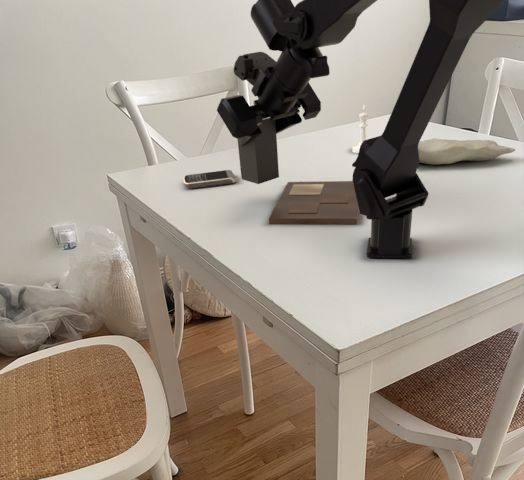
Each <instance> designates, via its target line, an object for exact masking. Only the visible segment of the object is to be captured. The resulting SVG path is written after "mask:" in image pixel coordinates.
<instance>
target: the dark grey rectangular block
mask: <svg viewBox="0 0 524 480" xmlns="http://www.w3.org/2000/svg"><path fill="white" fill-rule="evenodd" d="M259 128H260V129H261V131H262V133H261V134H260V135H259V136H257V137H256V138H254V139H253V140H251V141H250V142H248V143H247V144H245V145H244V146H241V145H240V143H239V138H238V139H237V147H238V149H237V150H238V155H239V156H238V159H239V167H240V178H241V180H243V181H246V182H250V183H252V184H256V185H261V184H263V183H266V182H269V181H273V180H276V179H278V178H280V172H279V154H278V139H277V138H278V137H277V134H276V121H275V120H272V119H271V118H268V119H264V120H262V123H261V124H260V125H259Z"/></svg>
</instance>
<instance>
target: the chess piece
mask: <svg viewBox="0 0 524 480" xmlns="http://www.w3.org/2000/svg"><path fill="white" fill-rule="evenodd" d="M361 111H362V112H361V113H359V115H358V117H359V120H360V123H359V124H358V127H359V128H360V134H359V140H358V143H357V144H356V145H354V146H352V147H351V152H353V153H354V154H359V149H360V146H361V144H362V143H363V141H364V140H367V133H366V127H369V124H368V123H367V119H368V116H369V113H367V112H366V104H362V108H361Z"/></svg>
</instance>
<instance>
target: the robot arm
mask: <svg viewBox="0 0 524 480" xmlns="http://www.w3.org/2000/svg"><path fill="white" fill-rule="evenodd" d="M377 1H378V0H301V1H299V2H298V3H296V5H294V3H293V2H292V0H257V1H256V2H255V3H254V4H253V5H252V6H251V8H250V18H251V20H252V22H253V24H254V25H255V27H256V29H257V30H258V32H259V34H260V35H261V37H262V39H263V41H264V42H265V44H266V46H267V48H268V50H269V51H273V52H274V51H275V52H276V51H278V52H281V53H280V55H279V56H278V59H277V60H275V59H274V58H272V57H271V56H270V55H269V54H267V53H266V52H264V51H256V52H250V53H244V54H242V55H239V56H238V57H237V59H236V60H235V62H234V66H233V73H234V75H235V76H236V77H237V78H238V79H239V80H241V81H247V82H248V83H249V84H250V85H251V86H252V87H251V93H252V94H253V96H254V97H257V99H254V100H253V105H250V104H249V103H248V102H247V100H246V98H245V96H244V95H241V94H236V95H232V96H227V97H223V98H221V99H220V101H219V103H218V105H217V108H216V112H217V113H218V116H219V117H220V118H221V120H222V122H223V123H224V125H225V127H226V129H227V130H228V131H229V132H230V135H231V136H232V137H233V138H235V139H237V140H238V138H239V143H240V145H241V146H244V145H245V144H247V143H248V142H250V141H251V140H253V139H254V138H256V137H257V136H259V135H260V134H261V133H262V131H261V129H260V128H259V125H260V124H261V123H262V120H264V119H268V118H271V119H272V120H275V121H276V135H277V134H280V133H281V132H283V131H285V130H288V129H290V128H292V127H295V126H296V125H298V124H301V123H302V122H303V119H304V120H305V121H307V120H310V119H315V118H317V116H318V115H319V113H320V112H321V110H322V101H321V100H320V98H319V97H318V95H317V93H316V92H315V90H314V89H313V87H312V85H311V84H310V81H311V79H316V78H317V79H318V78H323V77H328V76H330V66H329V62H328V56H327V55H323V53H322V51H321V49H320V48H323V47H328V46H329V47H330V46H334V45H338V44H341V43H342V42H343V41H344V40H345V39H346V38H347V37H348V35H349V34H351V32H352V31H353V30H354V29H355V27H356V25H357V21H358V18H359V17H360V16H361V15H362V13H363V12H364V11H366V10H367V9H368V8H370V7H371V6H372V5H373V4H375V3H376V2H377ZM503 2H504V0H428V5H429V6H428V9H429V21H428V25H427V28H426V30H425V32H424V35H423V37H422V40H421V42H420V44H419V47H418V49H417V52H416V55H415V57H414V59H413V61H412V64H411V66H410V68H409V71H408V73H407V76H406V77H405V80H404V83H403V85H402V87H401V90H400V92H399V94H398V97H397V99H396V102H395V104H394V106H393V108H392V111H391V113H390V116H389V118H388V120H387V123H386V125H385V128H384V130H383V132H382V134H381V135H378V136H375V137H372V138H368V139H366V140H364V141H363V143H362V144H361V146H360V149H359V153H357V157H356V159H355V161H354V162H352V164H351V166H352V167H353V168H354V169H353V173H352V180H351V181H353V184H354V189H355V193H356V198H357V202H358V207H359V214H360V215H363V216H365V217H366V220H369V221H370V237H368V240H367V248H366V249H367V250H366V258H371V259H374V258H375V259H412V258H413V255H414V254H413V238H412V237H411V232H412V221H413V210H414V209H417V208H419V207H424V206H425V204H426V203H427V199H428V197H429V191H428V189H427V188H426V187H425V185H424V183H423V182H422V180H421V178H420V177H419V174H418V173H417V170H418V167H419V164H420V163H419V151H418V144H419V141H421V139H422V137H423V136H424V133H425V131H426V129H427V127H428V126H429V123H430V121H431V119H432V117H433V115H434V114H435V111H436V108H438V105H439V102H440V100H441V98H442V96H443V94H444V93H445V90H446V88H447V86H448V84H449V82H450V81H451V78H452V77H453V74H454V72H455V69H456V68H457V65H458V63H459V61H460V59H461V58H462V55H463V53H464V51H465V49H466V48H467V46H468V44H469V41H470V39H471V38H472V36H473V35H474V33H475V32H476V31H477V30H478V29H479V28H480V27H481V26H482V25H483V24H484V23H485V22H486V21H487V20H488V19H489V18H490V17H491V16H492V15H493V14H494V13H495V12H496V11H497V10H498V9H499V7H500V6H501V4H502V3H503ZM301 108H302V109H303V113H302V117H303V119H302V117H301V116H300V109H301ZM392 196H393V197H392ZM386 198H387V199H386Z"/></svg>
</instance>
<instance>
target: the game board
mask: <svg viewBox="0 0 524 480" xmlns="http://www.w3.org/2000/svg"><path fill="white" fill-rule="evenodd" d="M359 214H360V211H359V207H358V202H357V198H356V193H355V189H354V184H353V181H352V180H341V181H340V180H338V181H335V180H334V181H332V180H331V181H329V180H328V181H326V180H325V181H287V182H286V184H285V187H284V189H283V191H282V193H281V194H280V196H279V198H278V200H277V202H276V204H275V206H274V208H273V209H272V211H271V214H270V216H269V217H268V224H269V225H358V220H359Z"/></svg>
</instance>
